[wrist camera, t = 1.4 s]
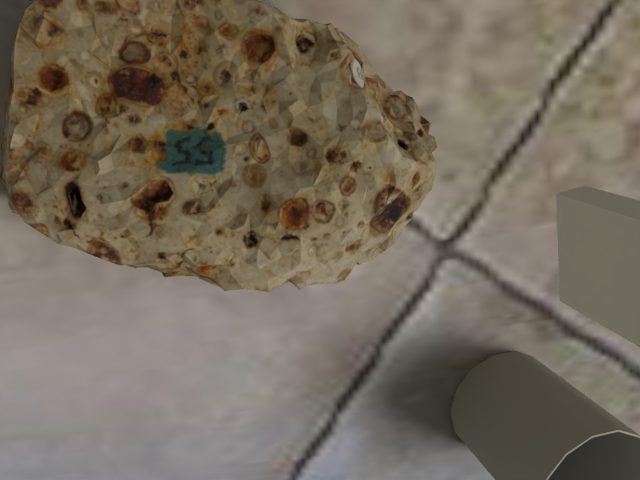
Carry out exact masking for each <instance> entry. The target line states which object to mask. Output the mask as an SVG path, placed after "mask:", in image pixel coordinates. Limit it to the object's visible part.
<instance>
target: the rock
mask: <svg viewBox="0 0 640 480" xmlns="http://www.w3.org/2000/svg"><path fill="white" fill-rule="evenodd" d="M10 65H11V81H10V87H9V91H8V96H7V100H6V120H5V129H4V131H3V134H4V140H3V143H2V151H3V158H4V165H3V168H2V171H1V174H0V179H1V181H2V182H3V184H4V185H5V186H6V188H7V191H8V198H9V202H8V204H9V206H10V208H11V210H13V211H12V212H13V213H16V214H20V216H21V217H22V219H23V220H24V222H25V223H27V224H29V225H30V226H32V227H33V228H35V229H36V230H38V231H39V232H41V233H42V234H44V235H46V236H47V237H49V238H50V239H52V240H53V241H55V242H57V243H58V244H61V245H65V246H69V247H73V248H77V249H79V250H82V251H84V252H86V253H88V254H91V255H93V256H96V257H99V258H101V259H104V260H107V261H110V262H112V263H115V264H118V265H127V266H130V267H134V268H137V267H148V268H151V269H154V270H157V271H160V272H162V273H163V275H164V277H168V276H196V277H198V278H200V279H202V280H205V281H207V282H209V283H212V284H214V285H216V286H219V287H221V288H222V289H223V290H224V291H226V290H238V289H250V290H258V291H266V292H269V291H271V290H273V289H275V288H277V287H279V286H280V285H282V284H284V283H286V282H288V281H289V282H291V283H293V284H294V285H295V286H296V287H297V288H298V289H301V288H303V287H304V286H306V285H312V284H324V283H337V282H340V281H343V280H345V278H346V277H347V276H348V275H349V274H350V272H351V271H352V269H353V268H354V266H355V265H356V264H359V265H360V264H362V263H364V262H366V261H368V260H370V259H372V258H374V257H375V256H377V255H378V254H380V253H382V252H383V251H385V250H386V249H387V248H389V247H390V246H391V245H392V244H393V243H394V242H395V240H396V238H397V237H398V235H399V234H400V232H401V231H402V229H403V227H404V226H405V225H406V224H407V223H408V222H409V221H410V220H411V219H412V218H413V212H415V211H416V210H417V209H418V208H419V206H420V205H421V203H422V202H423V200H424V199H425V197H426V195H427V194H428V192H429V191H430V190H431V189H432V185H433V181H434V176H435V170H434V167H435V163H436V161H435V159H434V157H433V155H432V152H433V151H434V150H435V149H436V148H437V144H436V141H435V137H433V136H431V135H428V132H429V129H430V125H431V123H430V122H429V121H427V120H426V119H425V118H423V117H422V116H421V114H420V111H419V109H418V106H417V105H416V103H415V101H414V99H413V98H412V97H410V96H407V95H405V94H404V93H403V92H401V91H397V92H393V91H392V90H391V89H390V88H389V87H388V86H387V85H386V83H385V82H384V81H383V80H382V79H381V78H380V77H379V76H378V75H377V74H376V73H375V71H374V69H373V68H372V66H371V65H370V63H369V61H368V60H367V58H366V56H365V55H364V53H363V51H362V50H361V48H360V47H359V45H357V44H356V43H355V42H354V41H353V40H351V39H350V38H349V37H348V36H347V35H345V34H344V33H343V32H340V31H339V30H338V29H337V28H333V26H332V24H331V23H330V24H325V25H323V24H320V23H317V22H314V21H311V20H306V19H291V18H288V17H287V16H286V15H285V14H283V13H282V12H281V11H280V10H279V9H277V8H275V7H272V6H270V5H267V4H264V3H262V2H259V1H257V0H35V1H34V2H33V3H32V4H31V5H30V6H28V7H27V8H26V9H25V10H24V15H23V18H22V20H21V22H20V24H19V27H18V30H17V34H16V37H15V40H14V45H13V50H12V55H11V60H10Z"/></svg>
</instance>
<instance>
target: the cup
mask: <svg viewBox="0 0 640 480" xmlns="http://www.w3.org/2000/svg"><path fill="white" fill-rule="evenodd" d="M450 412H451V417H452V422H453V427H454V432H455V433H456V434H457V435H458V436H459V437H460V439H461V440H462V441H463V442H464V443H465V444H466V446H467V447H468V448H469V449H470V450H471V452H472V453H473V454H474V455H475V456H476V457H477V459H478V460H479V461H480V462H481V463H482V464H483V466H484V467H485V468H486V469H487V470H488V472H489V473H490V474H491V475H492V476H493V477H494V479H495V480H640V435H638V434H637V433H636V432H634V431H633V430H632V429H630V428H629V427H627V426H626V425H625V424H623V423H622V422H621V421H619V420H618V419H617V418H615V417H614V416H613V415H611V414H610V413H608V412H607V411H606V410H604V409H603V408H602V407H600V406H599V405H598V404H596V403H595V402H593V401H592V400H591V399H589V398H588V397H587V396H585V395H584V394H583V393H581V392H580V391H579V390H577V389H576V388H574V387H573V386H572V385H570V384H569V383H568V382H566V381H565V380H564V379H562V378H561V377H559V376H558V375H557V374H555V373H554V372H553V371H551V370H550V369H549V368H547V367H546V366H545V365H543V364H542V363H540V362H539V361H538V360H536V359H535V358H534V357H531V356H528V355H525V354H522V353H519V352H516V351H512V352H506V353H501V354H495V355H492V356H490V357H489V358H487V359H486V360H484V361H483V362H481V363H480V364H478V365H476V366H475V367H473V368H472V369H471V370H470V372H469V373H468V374H467V376H466V377H465V378H464V380H463V381H462V382H461V384H460V385H459V386H458V388H457V389H456V393H455V396H454V400H453V404H452V407H451V411H450Z"/></svg>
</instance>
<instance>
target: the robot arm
mask: <svg viewBox="0 0 640 480" xmlns="http://www.w3.org/2000/svg"><path fill="white" fill-rule="evenodd" d="M556 197H557V228H558V259H559V290H560V301H561V302H563V303H565V304H567V305H568V306H570V307H572V308H574V309H575V310H577V311H579V312H580V313H582V314H584V315H586V316H587V317H589V318H591V319H593V320H594V321H596V322H598V323H599V324H601V325H603V326H605V327H606V328H608V329H610V330H612V331H613V332H615V333H617V334H618V335H620V336H622V337H624V338H625V339H627V340H629V341H631V342H632V343H634V344H636V345H637V346H639V347H640V201H638V200H634V199H631V198H627V197H624V196H620V195H616V194H613V193H609V192H606V191H602V190H598V189H595V188H591V187H587V186H582V187H579V188H575V189H572V190H568V191H564V192H561V193H557V194H556Z"/></svg>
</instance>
